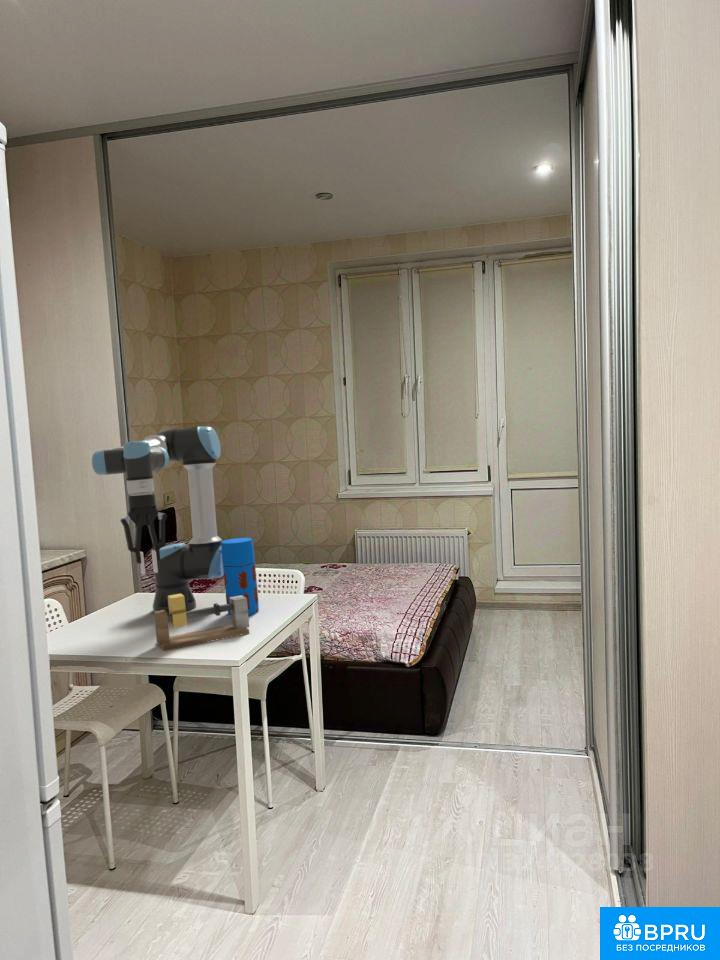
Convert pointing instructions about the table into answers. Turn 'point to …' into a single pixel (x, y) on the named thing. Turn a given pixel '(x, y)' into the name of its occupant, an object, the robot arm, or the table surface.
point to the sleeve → (177, 610)
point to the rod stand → (236, 628)
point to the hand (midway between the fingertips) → (149, 572)
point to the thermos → (240, 571)
